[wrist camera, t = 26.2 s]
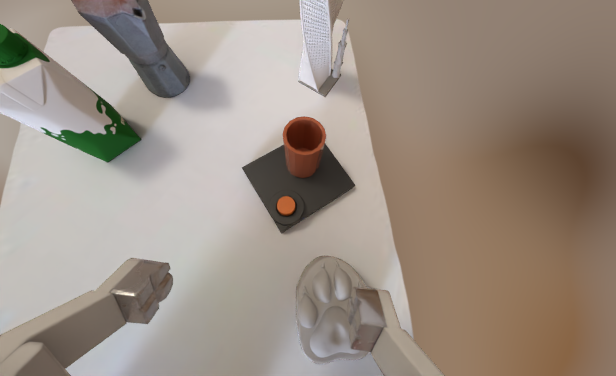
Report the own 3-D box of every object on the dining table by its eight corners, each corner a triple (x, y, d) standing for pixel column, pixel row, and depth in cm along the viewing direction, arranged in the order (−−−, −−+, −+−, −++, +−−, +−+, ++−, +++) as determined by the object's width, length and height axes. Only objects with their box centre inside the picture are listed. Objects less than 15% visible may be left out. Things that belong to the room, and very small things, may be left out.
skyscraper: (321, 101, 47) (354, -95, 21) (290, 83, 48) (283, -126, 22) (340, 75, 50) (392, -132, 23) (310, 59, 51) (326, -158, 24)
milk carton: (148, 139, 43) (28, 48, 24) (105, 169, 41) (-65, 95, 22) (123, 111, 44) (-9, 4, 25) (80, 138, 42) (-99, 44, 23)
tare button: (283, 219, 37) (282, 217, 35) (274, 204, 37) (273, 202, 36) (298, 209, 37) (298, 207, 36) (289, 195, 38) (289, 192, 36)
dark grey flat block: (281, 233, 39) (280, 231, 36) (244, 171, 42) (239, 164, 39) (352, 187, 42) (357, 182, 39) (313, 133, 45) (314, 123, 42)
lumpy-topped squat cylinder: (298, 345, 34) (299, 374, 26) (293, 258, 38) (292, 260, 30) (363, 337, 35) (384, 363, 27) (351, 253, 39) (367, 253, 30)
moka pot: (183, 112, 45) (99, 8, 26) (123, 81, 46) (1, -40, 27) (210, 80, 48) (153, -36, 28) (153, 51, 49) (61, -78, 30)
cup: (297, 184, 40) (297, 162, 30) (279, 157, 41) (275, 128, 32) (325, 167, 41) (334, 141, 31) (307, 142, 42) (310, 110, 33)
